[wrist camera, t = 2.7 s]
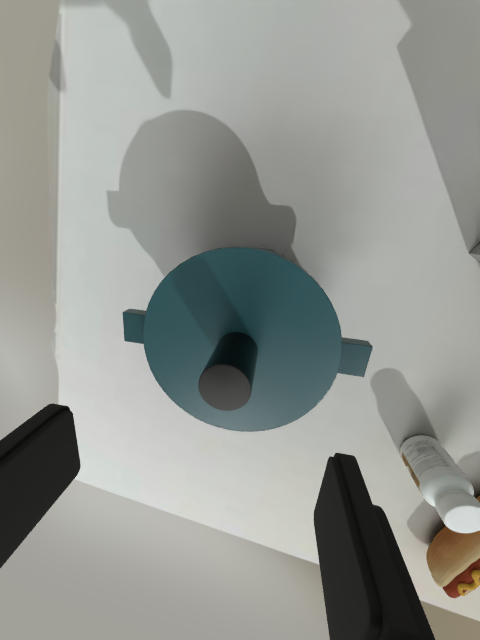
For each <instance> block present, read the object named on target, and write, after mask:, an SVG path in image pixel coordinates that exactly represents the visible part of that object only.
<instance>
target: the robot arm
mask: <svg viewBox="0 0 480 640" xmlns="http://www.w3.org/2000/svg"><path fill="white" fill-rule="evenodd" d="M79 470H80V459H79V452H78V445H77V439H76V432H75V425H74V419H73V413H72V412H71V411H70V409H69V407H68V406H63V405H57V404H49V405H48V406H46V407H44V408H43V409H42V410H40V411H39V412H38V413H36V414H35V415H34V416H32V417H31V418H30V419H28V420H27V421H26V422H24V423H23V424H22V425H20V426H19V427H18V428H16V429H15V430H14V431H12V432H11V433H10V434H8V435H7V436H6V437H4V438H3V439H2V440H0V568H1V567H2V566H3V564H4V563H5V562H6V561H7V559H8V558H9V557H10V556H11V555H12V554H13V552H14V551H15V550H16V549H17V548H18V546H19V545H20V544H21V543H22V541H23V540H24V539H25V538H26V537H27V535H28V534H29V533H30V532H31V531H32V529H33V528H34V527H35V526H36V524H37V523H38V522H39V521H40V520H41V518H42V517H43V516H44V515H45V514H46V512H47V511H48V510H49V509H50V507H51V506H52V505H53V504H54V503H55V501H56V500H57V499H58V498H59V496H60V495H61V494H62V493H63V492H64V490H65V489H66V488H67V487H68V486H69V484H70V483H71V482H72V481H73V479H74V478H75V477H76V476H77V474H78V472H79ZM314 526H315V534H316V541H317V548H318V556H319V563H320V570H321V577H322V585H323V592H324V599H325V606H326V614H327V621H328V628H329V636H330V640H435V638H434V635H433V633H432V630H431V628H430V625H429V623H428V620H427V618H426V615H425V613H424V610H423V608H422V605H421V603H420V600H419V597H418V595H417V592H416V590H415V587H414V585H413V582H412V580H411V577H410V575H409V572H408V570H407V567H406V565H405V562H404V560H403V557H402V555H401V552H400V550H399V547H398V545H397V542H396V540H395V537H394V534H393V532H392V529H391V527H390V524H389V522H388V519H387V517H386V515H385V513H384V511H383V510H382V508H381V507H379V506H376V505H373V504H372V502H371V499H370V496H369V493H368V490H367V488H366V485H365V482H364V479H363V477H362V474H361V471H360V468H359V466H358V463H357V460H356V458H355V457H354V456H352V455H346V454H340V453H336V454H335V455H334V457H329V459H328V462H327V466H326V470H325V473H324V477H323V481H322V485H321V488H320V492H319V496H318V499H317V503H316V507H315V510H314Z"/></svg>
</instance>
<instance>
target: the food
mask: <svg viewBox="0 0 480 640" xmlns="http://www.w3.org/2000/svg"><path fill="white" fill-rule="evenodd" d="M476 499H477V500H478V501H479V502H480V495H479V496H478V497H477V498H476ZM427 563H428V567H429V570H430V572H431V574H432V577H433V579H434V581H435V582H436V584H437V585H438V586H440V587H442V588H443V589H444V591H445V592H446V594H447V595H448V596H450V597H452V598H456V597H459V596H460V595H462V596H465V595H467V594H468V593H470V592H471V591H472V590H475V589H476V588H477V587H478V586H479V585H480V530H479V531H477V532H473V533H459V532H455V531H452V530H451V529H449V528H448V527H447V526H445V527H444V528H443V529H442V530H441V531H439V532H438V533H437V534H436V536H435V537H434V539H433V541H432V543H431V544H430V546H429V547H428V550H427Z"/></svg>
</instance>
